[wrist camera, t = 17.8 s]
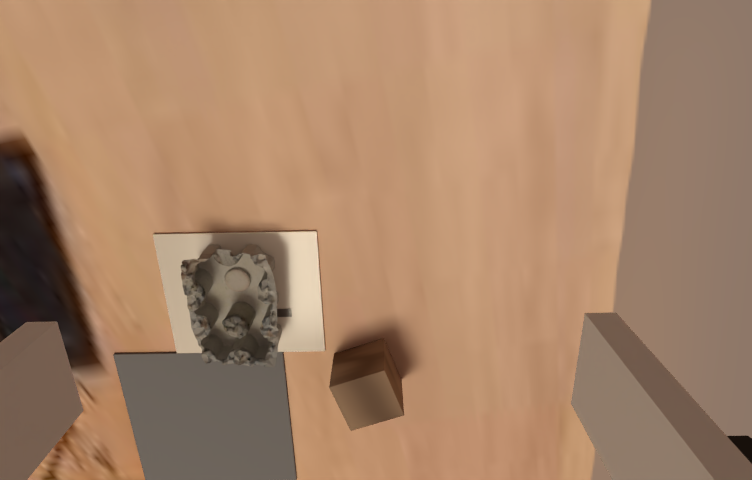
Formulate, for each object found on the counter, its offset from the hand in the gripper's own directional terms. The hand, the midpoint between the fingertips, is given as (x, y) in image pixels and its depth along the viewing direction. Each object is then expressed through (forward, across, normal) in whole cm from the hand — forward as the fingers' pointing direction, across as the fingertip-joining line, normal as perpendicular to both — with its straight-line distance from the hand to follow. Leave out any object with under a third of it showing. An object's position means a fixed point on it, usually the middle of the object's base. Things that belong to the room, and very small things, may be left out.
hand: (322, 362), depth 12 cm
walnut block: (+29, 0, -21) cm, 36 cm away
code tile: (+29, -11, -13) cm, 33 cm away
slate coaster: (+29, -16, -27) cm, 43 cm away
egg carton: (+29, -11, -13) cm, 33 cm away
